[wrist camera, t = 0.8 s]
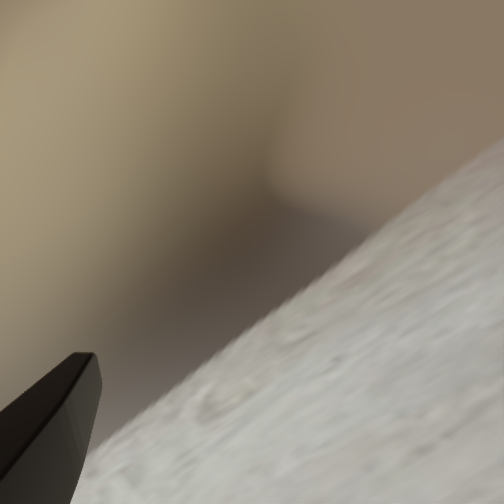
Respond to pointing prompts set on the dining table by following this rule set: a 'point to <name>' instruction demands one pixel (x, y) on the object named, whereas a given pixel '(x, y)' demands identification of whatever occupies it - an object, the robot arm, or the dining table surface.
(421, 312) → the dining table surface
